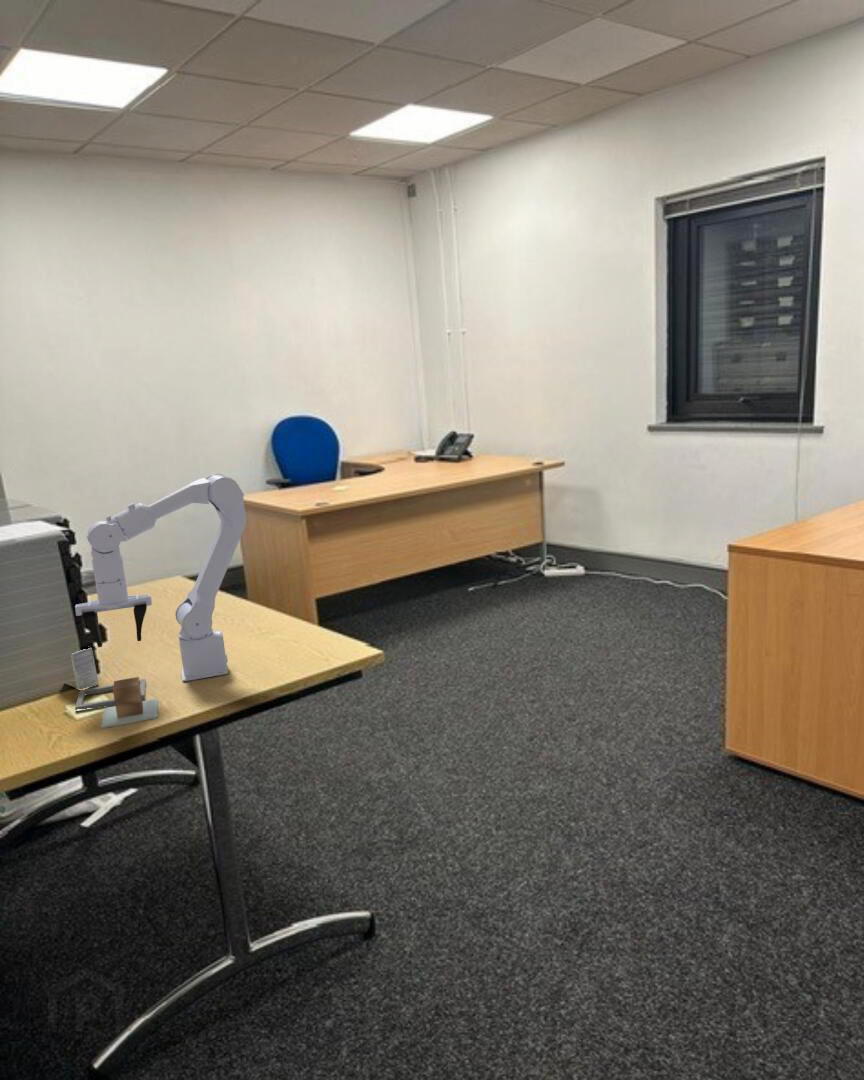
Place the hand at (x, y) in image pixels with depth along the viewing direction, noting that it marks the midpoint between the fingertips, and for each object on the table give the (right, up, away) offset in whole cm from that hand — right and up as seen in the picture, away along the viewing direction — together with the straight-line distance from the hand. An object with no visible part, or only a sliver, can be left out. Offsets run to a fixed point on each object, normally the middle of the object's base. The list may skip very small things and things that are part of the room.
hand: (120, 642), depth 163 cm
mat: (+6, -13, -10) cm, 17 cm away
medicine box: (-11, -10, +7) cm, 17 cm away
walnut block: (+6, -12, -10) cm, 17 cm away
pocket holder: (-1, -11, -1) cm, 11 cm away
